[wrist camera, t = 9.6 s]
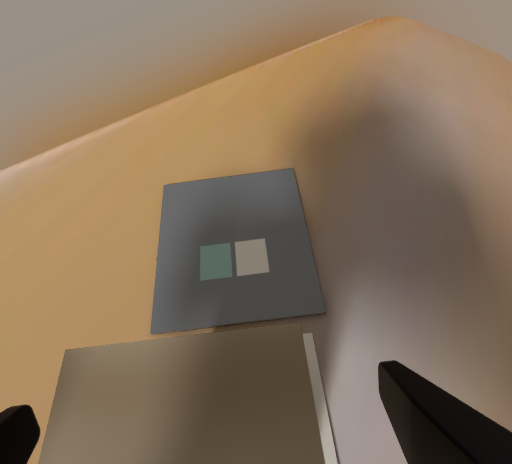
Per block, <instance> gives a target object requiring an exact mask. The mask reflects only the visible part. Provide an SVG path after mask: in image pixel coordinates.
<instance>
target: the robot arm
mask: <svg viewBox="0 0 512 464" xmlns="http://www.w3.org/2000/svg"><path fill="white" fill-rule="evenodd" d="M378 379H379V393H380V397H381V400H382V402H383V405H384V407H385V410H386V412H387V415H388V417H389V419H390V422H391V424H392V427H393V429H394V432H395V434H396V436H397V439H398V441H399V444H400V446H401V449H402V451H403V453H404V456H405V458H406V461H407V463H408V464H512V432H510V431H509V430H507V429H506V428H504V427H502V426H501V425H499V424H498V423H496V422H494V421H493V420H491V419H489V418H488V417H486V416H485V415H483V414H481V413H480V412H478V411H477V410H475V409H473V408H472V407H470V406H469V405H467V404H465V403H464V402H462V401H460V400H459V399H457V398H456V397H454V396H452V395H451V394H449V393H448V392H446V391H444V390H443V389H441V388H440V387H438V386H436V385H435V384H433V383H432V382H430V381H428V380H427V379H425V378H423V377H422V376H420V375H419V374H417V373H415V372H414V371H412V370H411V369H409V368H407V367H406V366H404V365H403V364H401V363H399V362H397V361H394V360H392V361H384V362H380V363H379V366H378ZM39 437H40V427H39V425H38V422H37V419H36V417H35V414H34V412H33V409H32V408H31V406H29V405H18V406H12V407H9V408H7V409H6V410H4V411H3V412H1V413H0V464H27V462H28V460H29V458H30V456H31V454H32V452H33V450H34V448H35V446H36V444H37V442H38V440H39Z"/></svg>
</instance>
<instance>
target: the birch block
mask: <svg viewBox="0 0 512 464" xmlns="http://www.w3.org/2000/svg"><path fill="white" fill-rule="evenodd" d="M38 464H325V459H324V453H323V448H322V442H321V436H320V431H319V425H318V419H317V414H316V408H315V402H314V396H313V391H312V385H311V379H310V374H309V368H308V362H307V357H306V351H305V345H304V339H303V334H302V328H301V322H297V323H288V324H280V325H271V326H263V327H254V328H246V329H237V330H229V331H220V332H212V333H203V334H195V335H186V336H178V337H169V338H161V339H153V340H144V341H136V342H127V343H119V344H110V345H102V346H93V347H85V348H76V349H68V350H65V354H64V358H63V362H62V366H61V371H60V375H59V379H58V383H57V387H56V392H55V396H54V400H53V404H52V408H51V413H50V417H49V421H48V425H47V429H46V434H45V438H44V442H43V446H42V450H41V455H40V459H39V463H38Z"/></svg>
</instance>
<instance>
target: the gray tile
mask: <svg viewBox="0 0 512 464" xmlns="http://www.w3.org/2000/svg"><path fill="white" fill-rule="evenodd" d="M325 313H326V310H325V305H324V301H323V297H322V292H321V288H320V284H319V279H318V275H317V270H316V266H315V262H314V257H313V253H312V249H311V244H310V240H309V236H308V231H307V227H306V223H305V218H304V214H303V210H302V205H301V201H300V196H299V192H298V188H297V183H296V179H295V175H294V170H293V168H291V169H283V170H275V171H268V172H260V173H252V174H245V175H237V176H229V177H222V178H214V179H206V180H199V181H191V182H183V183H176V184H168V185H164V190H163V201H162V212H161V223H160V234H159V245H158V256H157V267H156V278H155V289H154V300H153V311H152V322H151V334H161V333H169V332H178V331H186V330H194V329H202V328H210V327H218V326H227V325H235V324H243V323H251V322H259V321H268V320H276V319H284V318H292V317H300V316H308V315H317V314H325Z"/></svg>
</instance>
